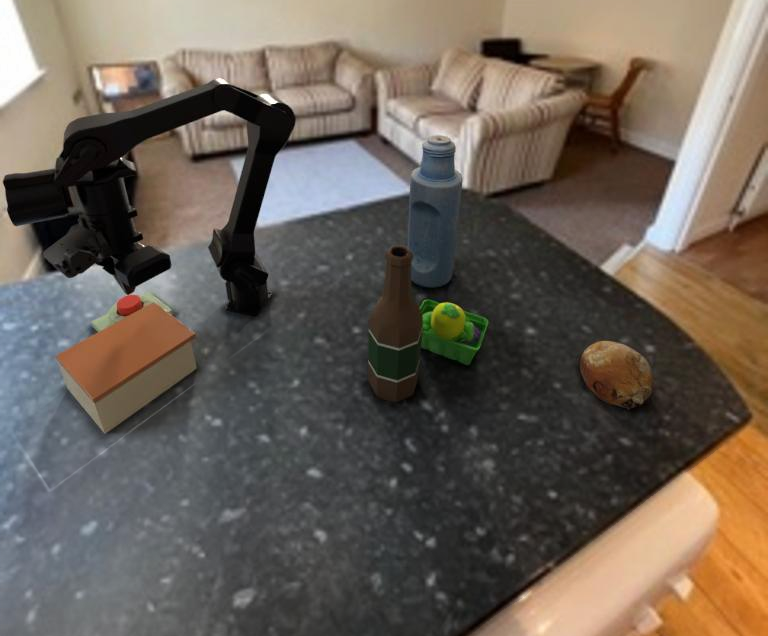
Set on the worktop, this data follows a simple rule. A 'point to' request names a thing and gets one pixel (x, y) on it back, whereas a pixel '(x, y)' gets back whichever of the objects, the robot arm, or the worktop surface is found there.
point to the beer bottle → (395, 332)
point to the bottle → (434, 213)
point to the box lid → (124, 350)
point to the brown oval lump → (616, 374)
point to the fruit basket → (451, 331)
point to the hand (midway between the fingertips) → (129, 292)
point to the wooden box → (135, 389)
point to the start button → (129, 305)
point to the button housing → (115, 316)
